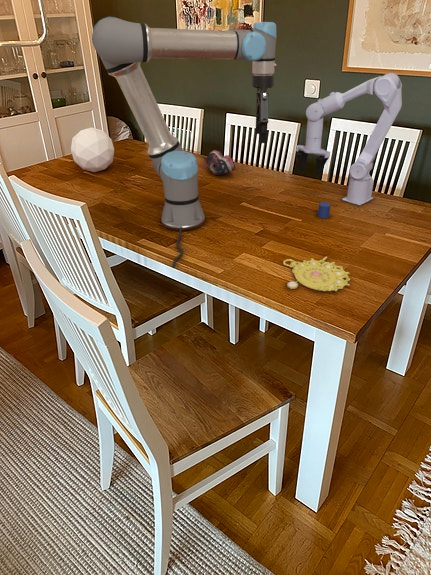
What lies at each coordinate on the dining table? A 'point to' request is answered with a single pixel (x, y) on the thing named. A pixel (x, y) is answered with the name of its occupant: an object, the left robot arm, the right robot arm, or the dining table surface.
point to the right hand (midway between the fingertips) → (310, 172)
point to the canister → (324, 210)
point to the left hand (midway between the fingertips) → (260, 138)
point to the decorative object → (318, 275)
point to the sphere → (92, 149)
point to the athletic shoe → (219, 163)
